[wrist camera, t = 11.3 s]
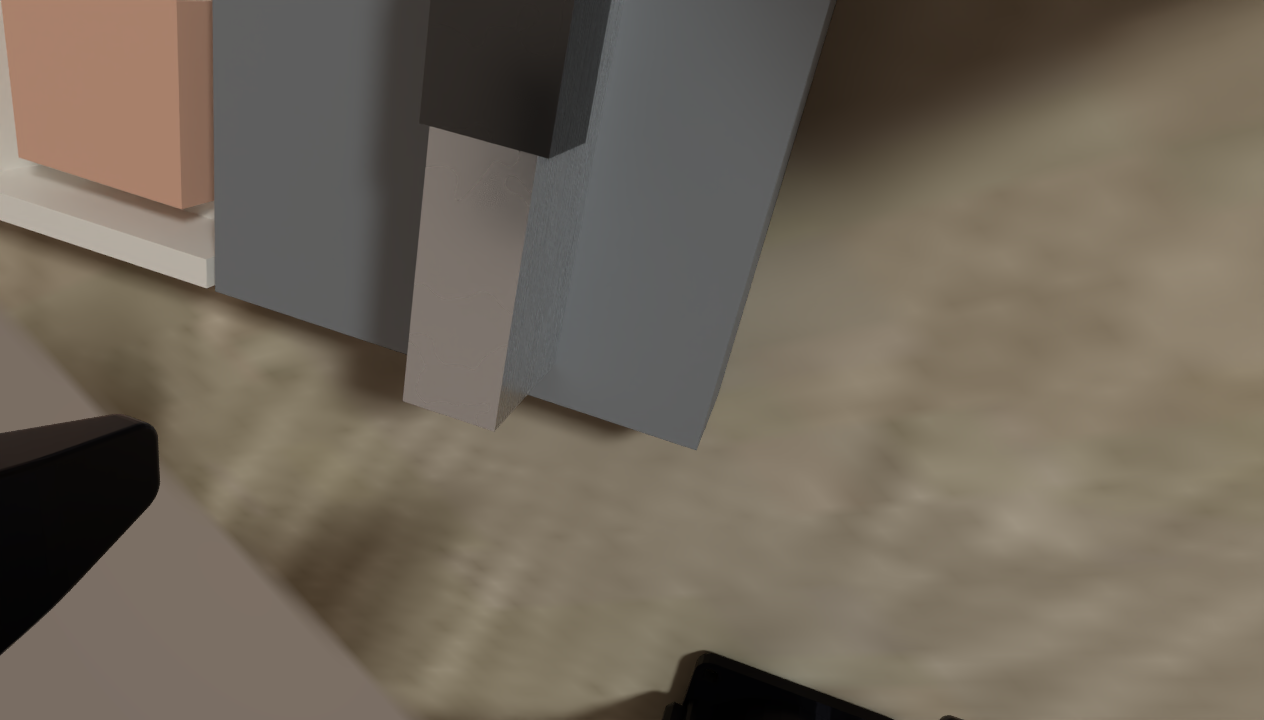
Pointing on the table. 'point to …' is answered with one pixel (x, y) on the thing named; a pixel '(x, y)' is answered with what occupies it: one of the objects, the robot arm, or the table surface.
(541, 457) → the table surface
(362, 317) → the board
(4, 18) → the tile
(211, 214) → the tray
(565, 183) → the sleeved grey plank
